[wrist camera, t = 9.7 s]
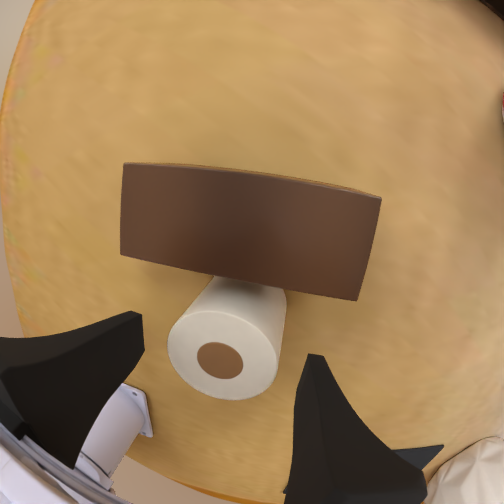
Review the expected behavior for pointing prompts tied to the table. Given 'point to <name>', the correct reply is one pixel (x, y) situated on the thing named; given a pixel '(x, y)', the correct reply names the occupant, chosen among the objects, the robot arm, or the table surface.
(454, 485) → the vase
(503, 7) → the camera
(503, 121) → the beverage can
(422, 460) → the mat
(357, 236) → the block
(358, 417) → the robot arm
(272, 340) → the paper roll
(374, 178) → the table surface
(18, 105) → the table surface
